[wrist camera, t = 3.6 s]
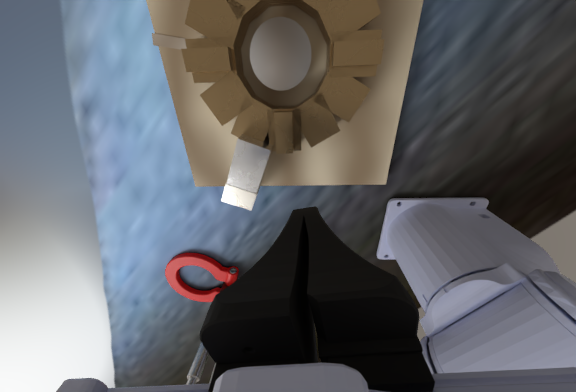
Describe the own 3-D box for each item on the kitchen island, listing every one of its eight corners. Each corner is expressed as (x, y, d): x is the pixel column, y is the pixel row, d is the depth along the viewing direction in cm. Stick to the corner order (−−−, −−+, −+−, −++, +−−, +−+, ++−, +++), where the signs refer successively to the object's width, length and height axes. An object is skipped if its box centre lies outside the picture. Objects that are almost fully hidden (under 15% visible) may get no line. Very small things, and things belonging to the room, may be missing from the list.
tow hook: (169, 286, 31) (232, 302, 31) (86, 405, 19) (187, 429, 20) (170, 242, 27) (242, 262, 27) (66, 360, 15) (193, 390, 16)
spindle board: (447, -169, 11) (531, -310, 7) (381, 179, 21) (401, 203, 17) (115, -137, 12) (25, -243, 8) (197, 181, 22) (174, 204, 18)
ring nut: (384, -69, 12) (414, -120, 9) (352, 190, 20) (362, 210, 17) (179, -54, 13) (141, -96, 10) (226, 191, 21) (213, 210, 18)
